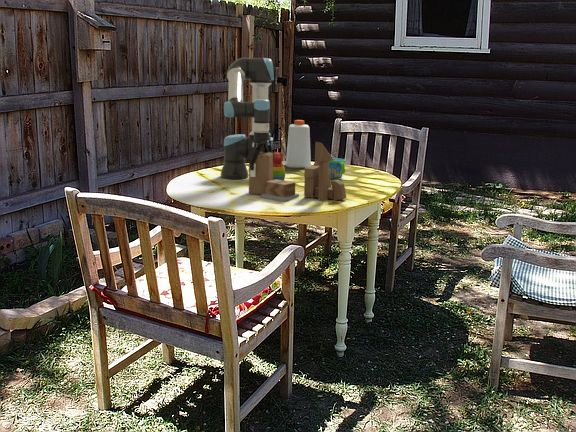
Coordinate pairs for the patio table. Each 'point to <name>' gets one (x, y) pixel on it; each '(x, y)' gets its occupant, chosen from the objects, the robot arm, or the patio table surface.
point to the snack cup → (337, 167)
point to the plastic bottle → (298, 145)
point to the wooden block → (261, 173)
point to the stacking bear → (278, 167)
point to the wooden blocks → (322, 178)
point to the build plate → (279, 197)
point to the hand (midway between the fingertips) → (260, 175)
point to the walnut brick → (280, 188)
